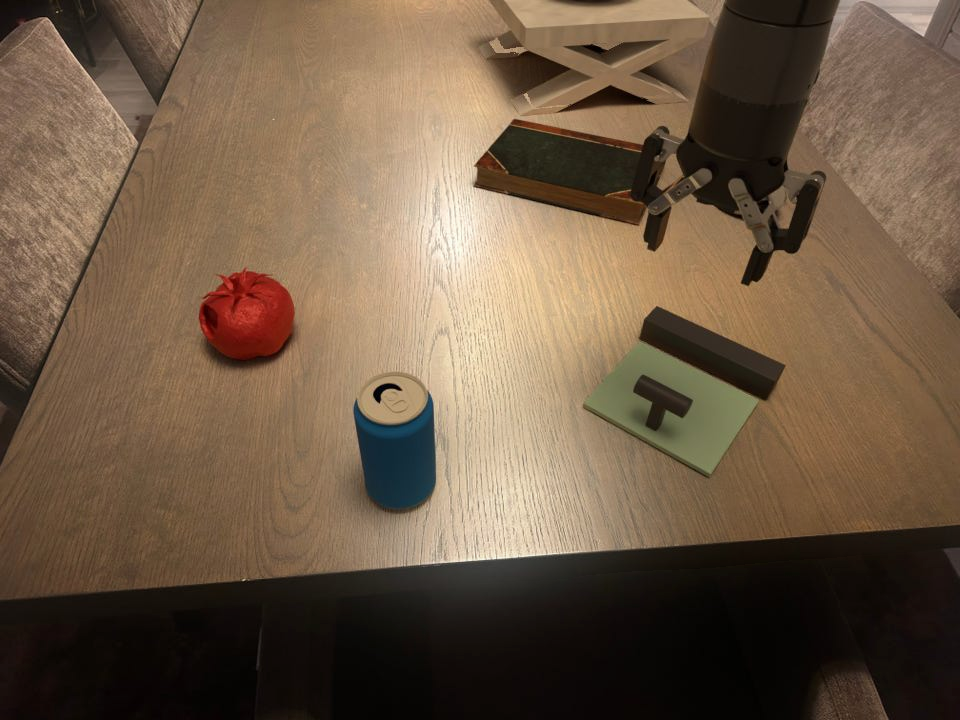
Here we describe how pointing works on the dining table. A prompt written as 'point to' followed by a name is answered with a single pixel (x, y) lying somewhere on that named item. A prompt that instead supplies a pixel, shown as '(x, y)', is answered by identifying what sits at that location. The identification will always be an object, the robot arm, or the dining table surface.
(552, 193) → the book
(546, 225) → the dining table surface
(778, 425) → the dining table surface
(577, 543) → the dining table surface
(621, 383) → the sign
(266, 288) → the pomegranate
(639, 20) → the wooden side table
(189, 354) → the dining table surface
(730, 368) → the stand
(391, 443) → the beverage can
